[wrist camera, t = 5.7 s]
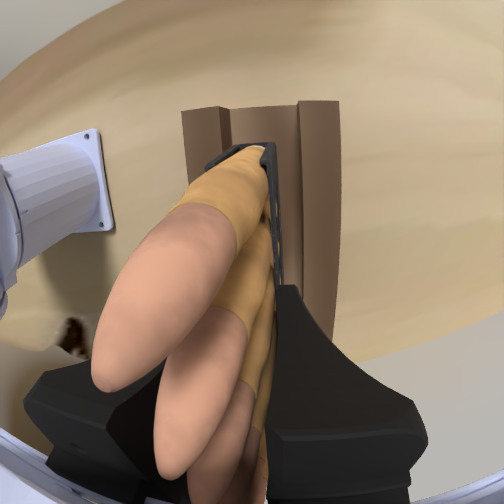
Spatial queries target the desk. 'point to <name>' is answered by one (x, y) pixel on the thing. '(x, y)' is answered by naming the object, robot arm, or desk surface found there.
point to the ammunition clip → (205, 326)
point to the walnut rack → (288, 185)
